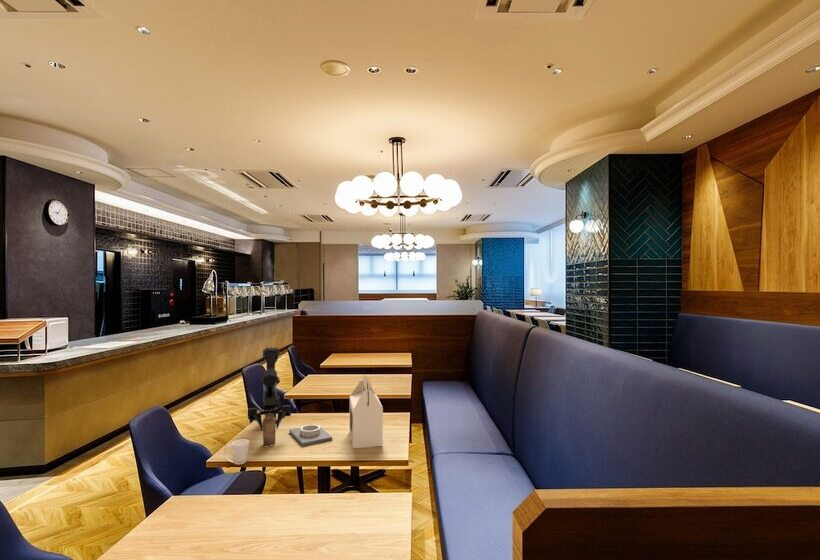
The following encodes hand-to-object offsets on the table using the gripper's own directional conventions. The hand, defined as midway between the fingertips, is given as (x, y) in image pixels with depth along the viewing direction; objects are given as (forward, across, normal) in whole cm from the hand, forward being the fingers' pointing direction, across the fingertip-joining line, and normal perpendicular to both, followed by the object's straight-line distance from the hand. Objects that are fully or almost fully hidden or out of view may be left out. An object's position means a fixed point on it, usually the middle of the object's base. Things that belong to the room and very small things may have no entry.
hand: (269, 429), depth 186 cm
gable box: (+8, +43, +2) cm, 44 cm away
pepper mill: (+4, 0, +6) cm, 7 cm away
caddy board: (+1, +18, +9) cm, 21 cm away
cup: (+15, -12, -5) cm, 20 cm away
